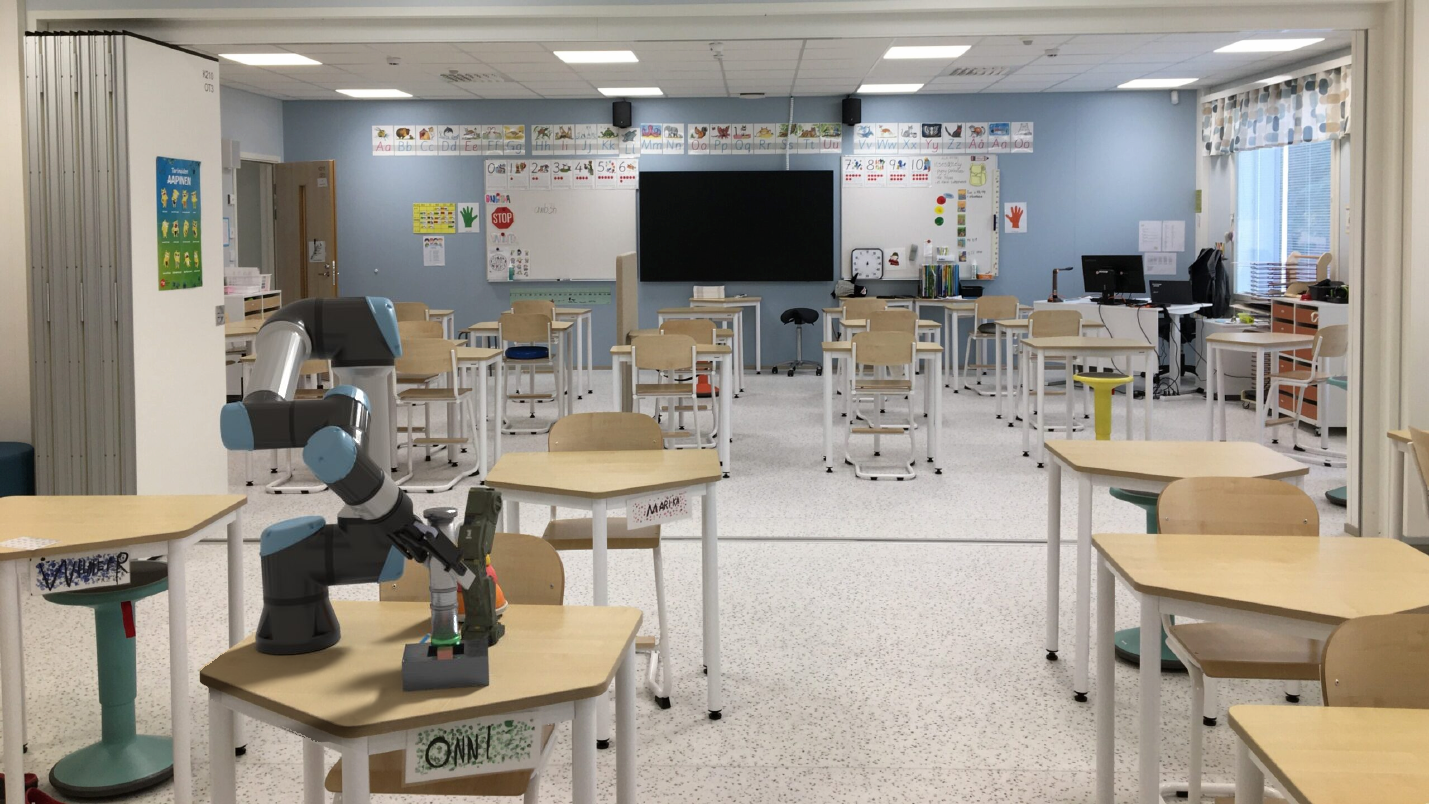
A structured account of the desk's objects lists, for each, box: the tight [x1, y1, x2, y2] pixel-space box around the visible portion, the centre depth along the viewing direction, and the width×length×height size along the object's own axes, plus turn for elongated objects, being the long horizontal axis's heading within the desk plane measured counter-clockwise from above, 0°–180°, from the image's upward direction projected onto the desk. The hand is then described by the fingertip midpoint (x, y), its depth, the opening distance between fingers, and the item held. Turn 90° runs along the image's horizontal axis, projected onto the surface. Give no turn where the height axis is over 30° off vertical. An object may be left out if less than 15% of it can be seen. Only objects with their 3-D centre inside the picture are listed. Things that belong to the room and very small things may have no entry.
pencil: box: [419, 631, 432, 643], centre depth 213 cm, size 1×17×1 cm, turn 177°
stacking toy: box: [455, 520, 509, 623], centre depth 233 cm, size 14×14×20 cm
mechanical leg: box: [456, 486, 506, 648], centre depth 217 cm, size 14×7×30 cm, turn 168°
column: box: [422, 506, 461, 647], centre depth 195 cm, size 6×6×23 cm
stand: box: [401, 638, 490, 693], centre depth 197 cm, size 10×14×6 cm
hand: (459, 580), depth 198 cm, fingers closed on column, 4 cm apart
